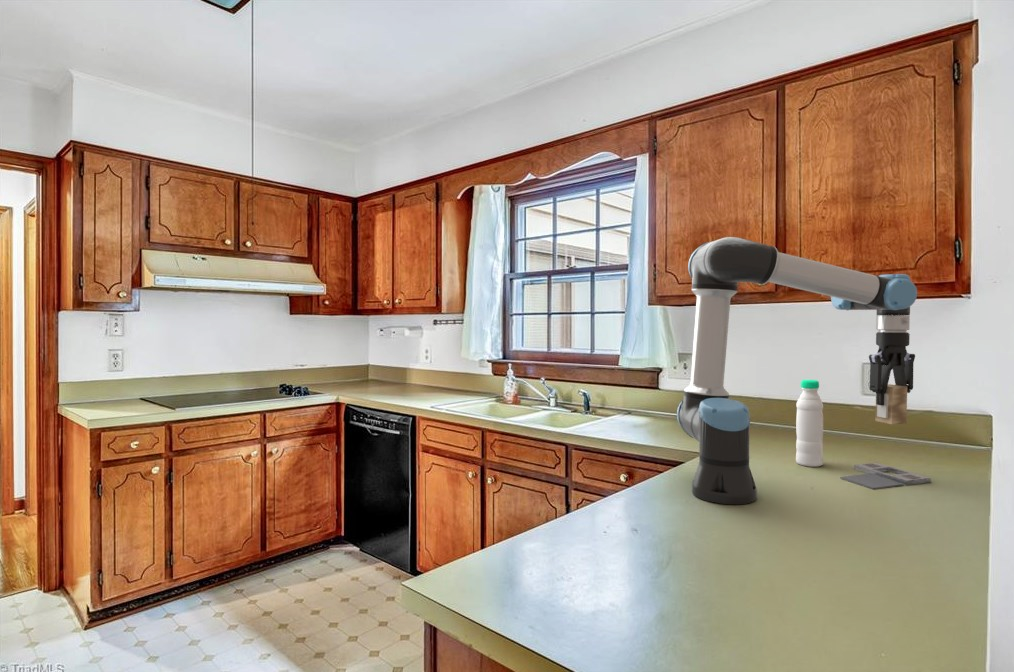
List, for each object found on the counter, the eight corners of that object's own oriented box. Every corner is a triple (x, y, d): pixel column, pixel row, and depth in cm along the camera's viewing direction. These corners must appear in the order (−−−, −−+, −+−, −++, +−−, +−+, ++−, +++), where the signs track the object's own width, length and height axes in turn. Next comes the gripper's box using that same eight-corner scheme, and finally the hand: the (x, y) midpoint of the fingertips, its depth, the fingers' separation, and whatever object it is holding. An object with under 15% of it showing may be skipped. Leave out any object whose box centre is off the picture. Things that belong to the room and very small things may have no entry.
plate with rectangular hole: (906, 485, 147) (906, 480, 147) (854, 468, 162) (854, 464, 162) (930, 482, 149) (930, 477, 149) (876, 466, 164) (876, 462, 164)
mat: (873, 489, 144) (873, 487, 144) (840, 478, 154) (840, 476, 154) (903, 485, 147) (903, 484, 147) (869, 474, 156) (869, 473, 156)
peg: (891, 424, 152) (892, 387, 151) (875, 421, 157) (876, 385, 156) (906, 423, 153) (907, 386, 153) (889, 420, 158) (890, 384, 158)
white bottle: (795, 465, 166) (796, 381, 165) (796, 460, 173) (796, 378, 171) (823, 468, 163) (824, 382, 162) (822, 462, 169) (823, 379, 168)
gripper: (878, 332, 148) (876, 421, 149) (931, 331, 153) (929, 417, 154) (854, 331, 155) (852, 415, 156) (905, 330, 160) (903, 412, 161)
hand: (890, 416), depth 155 cm, fingers closed on peg, 5 cm apart
